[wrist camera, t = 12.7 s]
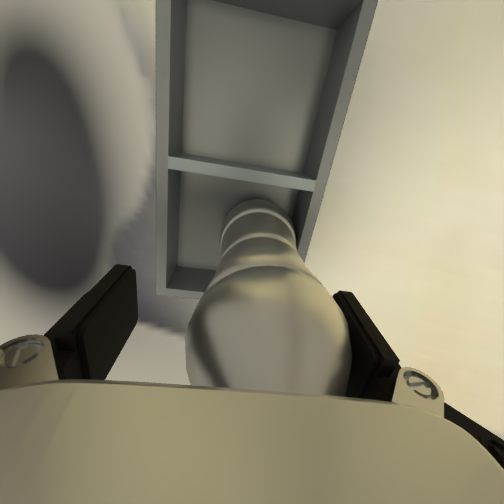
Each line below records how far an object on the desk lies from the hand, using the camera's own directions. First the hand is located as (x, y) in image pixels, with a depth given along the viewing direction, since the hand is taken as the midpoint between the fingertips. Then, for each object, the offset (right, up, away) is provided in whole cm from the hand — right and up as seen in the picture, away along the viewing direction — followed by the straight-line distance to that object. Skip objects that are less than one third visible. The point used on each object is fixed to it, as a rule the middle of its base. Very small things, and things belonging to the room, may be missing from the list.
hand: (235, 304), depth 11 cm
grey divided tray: (0, +10, +10) cm, 14 cm away
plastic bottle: (+1, +5, +12) cm, 13 cm away
